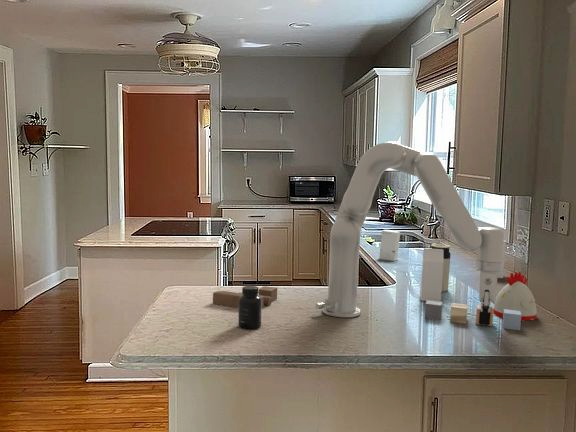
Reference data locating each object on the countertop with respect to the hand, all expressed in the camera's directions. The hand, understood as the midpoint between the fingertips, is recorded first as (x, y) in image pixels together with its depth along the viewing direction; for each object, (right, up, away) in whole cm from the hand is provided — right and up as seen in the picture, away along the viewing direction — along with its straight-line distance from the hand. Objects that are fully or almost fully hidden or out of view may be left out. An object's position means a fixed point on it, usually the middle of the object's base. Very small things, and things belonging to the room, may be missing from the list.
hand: (484, 321), depth 186 cm
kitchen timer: (+14, 0, +12) cm, 19 cm away
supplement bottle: (-74, +1, -13) cm, 76 cm away
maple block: (-7, 0, +3) cm, 8 cm away
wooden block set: (-77, +3, +15) cm, 79 cm away
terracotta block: (0, -1, 0) cm, 1 cm away
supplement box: (+30, +6, +78) cm, 84 cm away
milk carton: (-10, +3, +29) cm, 31 cm away
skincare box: (-12, +11, +109) cm, 110 cm away
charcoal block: (-15, 0, +5) cm, 16 cm away
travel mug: (-3, +4, +46) cm, 46 cm away
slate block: (+8, -1, -2) cm, 8 cm away
